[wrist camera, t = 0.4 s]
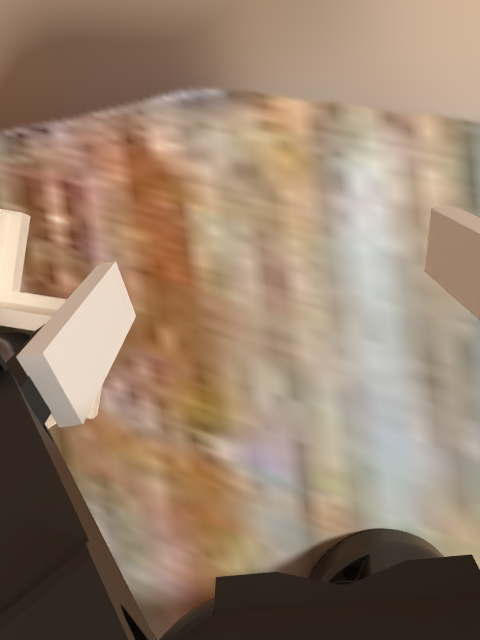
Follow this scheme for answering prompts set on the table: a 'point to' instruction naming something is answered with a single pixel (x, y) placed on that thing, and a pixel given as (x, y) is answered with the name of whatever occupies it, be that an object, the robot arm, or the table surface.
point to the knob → (11, 343)
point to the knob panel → (19, 307)
